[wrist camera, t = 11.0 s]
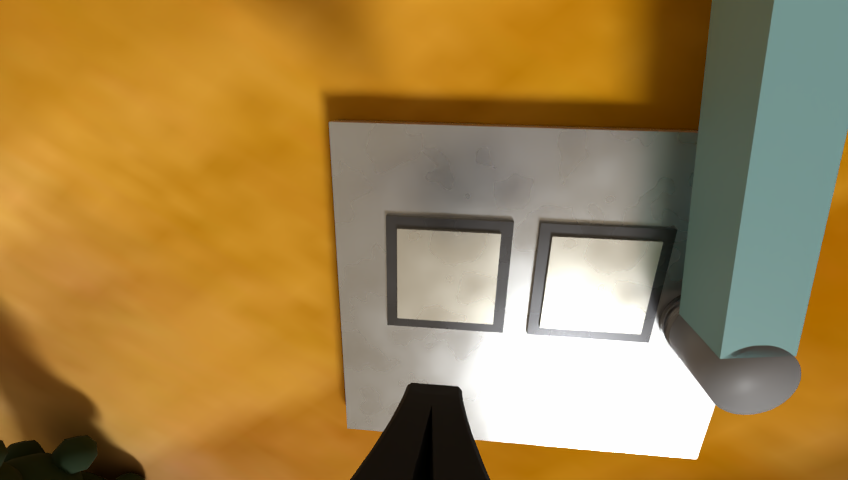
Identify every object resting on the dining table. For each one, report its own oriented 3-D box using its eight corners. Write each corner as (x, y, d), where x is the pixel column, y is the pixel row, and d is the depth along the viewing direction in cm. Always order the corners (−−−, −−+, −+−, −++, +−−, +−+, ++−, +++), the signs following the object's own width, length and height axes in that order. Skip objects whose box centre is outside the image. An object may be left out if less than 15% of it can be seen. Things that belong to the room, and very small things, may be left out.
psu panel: (787, 132, 16) (824, 138, 15) (686, 443, 22) (704, 473, 20) (335, 119, 18) (322, 123, 16) (352, 414, 24) (343, 440, 22)
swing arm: (741, 361, 18) (792, 413, 15) (666, 364, 18) (702, 415, 15) (832, -165, 12) (947, -242, 9) (716, -144, 12) (791, -210, 9)
